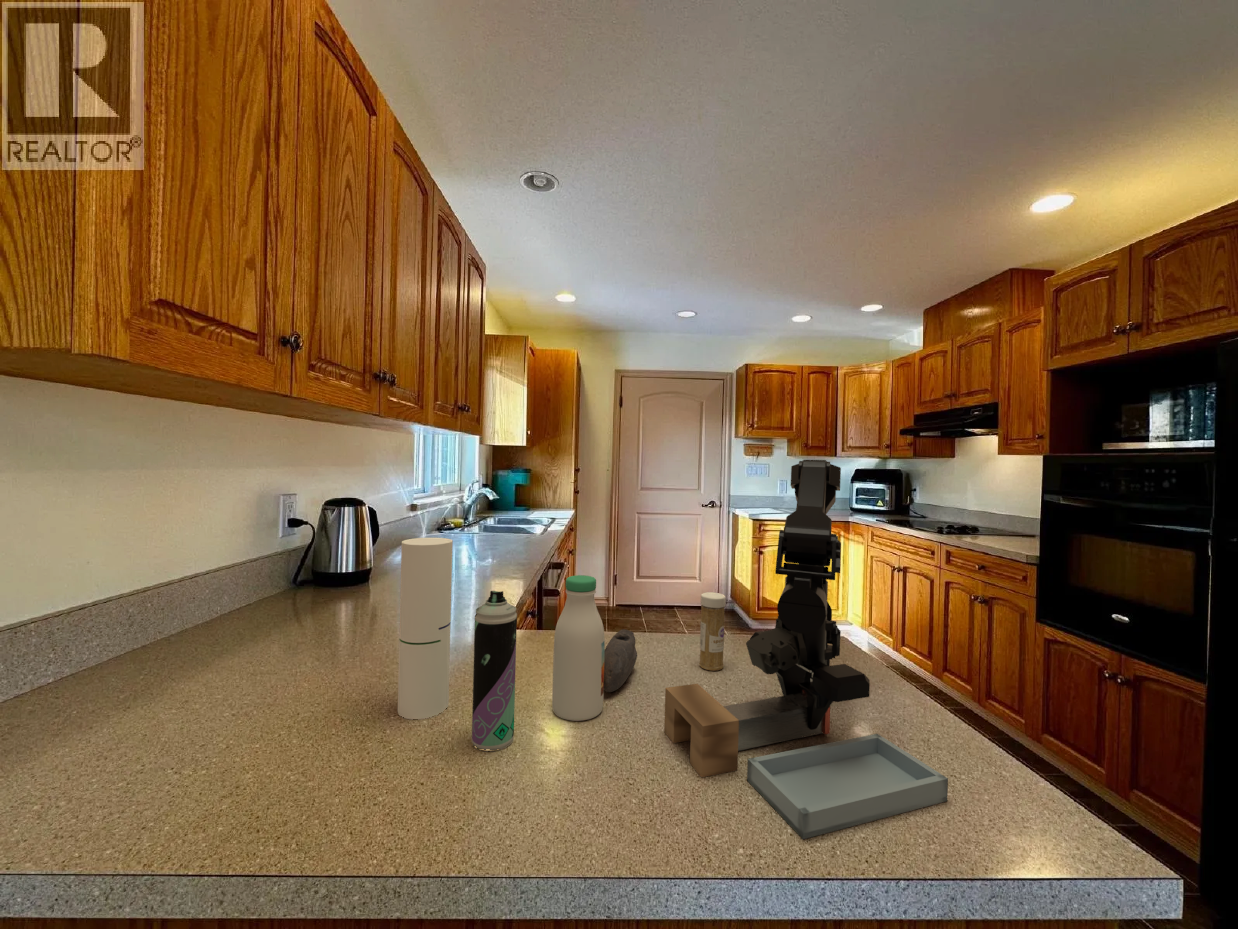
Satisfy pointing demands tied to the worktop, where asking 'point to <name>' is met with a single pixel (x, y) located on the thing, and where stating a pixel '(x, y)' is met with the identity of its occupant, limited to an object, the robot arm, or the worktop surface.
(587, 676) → the milk bottle
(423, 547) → the cylindrical container
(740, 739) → the red capped grey bar
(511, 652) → the spray can
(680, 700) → the block
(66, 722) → the worktop surface
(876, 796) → the tray
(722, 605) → the spice jar
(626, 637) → the perforated stone tool
